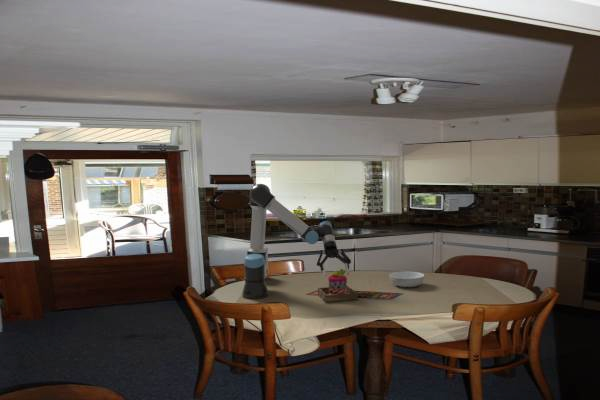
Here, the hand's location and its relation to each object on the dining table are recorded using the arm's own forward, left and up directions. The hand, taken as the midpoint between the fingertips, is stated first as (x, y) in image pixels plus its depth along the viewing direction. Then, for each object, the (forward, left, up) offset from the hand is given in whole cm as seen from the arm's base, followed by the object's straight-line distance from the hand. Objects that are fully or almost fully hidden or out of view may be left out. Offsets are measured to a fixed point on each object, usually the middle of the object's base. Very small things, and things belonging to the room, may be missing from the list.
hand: (336, 274), depth 263 cm
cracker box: (-56, -37, -13) cm, 68 cm away
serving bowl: (-10, +47, -13) cm, 50 cm away
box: (+3, -1, -12) cm, 13 cm away
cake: (+4, -1, -12) cm, 12 cm away
